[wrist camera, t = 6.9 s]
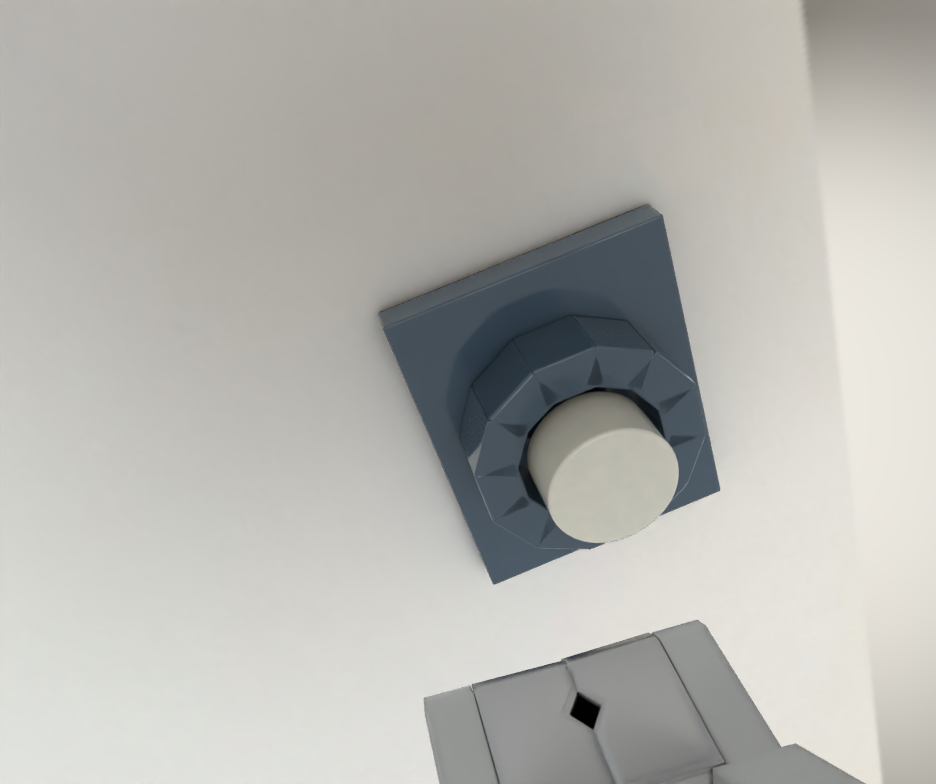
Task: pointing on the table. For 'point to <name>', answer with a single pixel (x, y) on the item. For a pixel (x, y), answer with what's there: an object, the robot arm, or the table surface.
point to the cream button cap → (601, 467)
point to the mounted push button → (549, 373)
